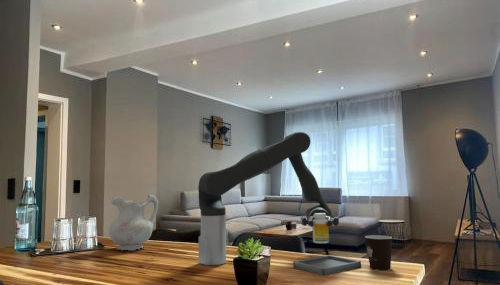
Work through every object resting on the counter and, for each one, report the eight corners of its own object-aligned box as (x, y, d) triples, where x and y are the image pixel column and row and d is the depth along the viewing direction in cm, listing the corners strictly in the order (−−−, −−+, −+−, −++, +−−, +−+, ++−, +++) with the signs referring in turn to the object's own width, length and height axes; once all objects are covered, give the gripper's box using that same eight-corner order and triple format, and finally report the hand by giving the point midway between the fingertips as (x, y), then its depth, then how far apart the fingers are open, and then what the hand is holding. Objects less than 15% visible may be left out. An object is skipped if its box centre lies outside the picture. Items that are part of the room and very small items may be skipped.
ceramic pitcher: (147, 245, 180) (146, 195, 184) (165, 247, 165) (163, 192, 169) (103, 251, 166) (103, 197, 170) (118, 253, 151) (117, 194, 156)
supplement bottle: (310, 241, 123) (308, 213, 124) (323, 240, 125) (322, 212, 126) (318, 244, 118) (317, 214, 119) (332, 242, 120) (330, 213, 121)
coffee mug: (396, 271, 114) (394, 239, 115) (368, 270, 115) (366, 238, 117) (389, 263, 125) (388, 234, 126) (364, 262, 127) (362, 234, 128)
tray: (323, 275, 111) (323, 269, 111) (293, 267, 122) (293, 261, 122) (361, 266, 121) (360, 261, 121) (329, 260, 132) (329, 255, 132)
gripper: (299, 208, 137) (298, 212, 121) (338, 207, 135) (342, 211, 118) (300, 228, 137) (299, 235, 120) (339, 228, 134) (343, 235, 118)
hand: (320, 223), depth 119 cm, fingers closed on supplement bottle, 5 cm apart
